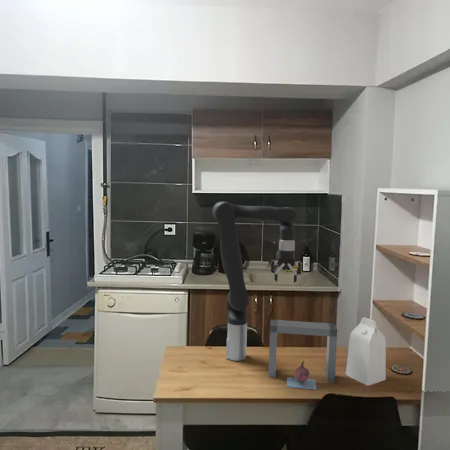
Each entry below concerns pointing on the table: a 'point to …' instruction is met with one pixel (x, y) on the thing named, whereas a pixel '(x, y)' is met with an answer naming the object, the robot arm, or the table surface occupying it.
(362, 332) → the milk
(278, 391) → the table surface
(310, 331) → the grey arch
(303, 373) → the vegetable
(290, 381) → the pad
